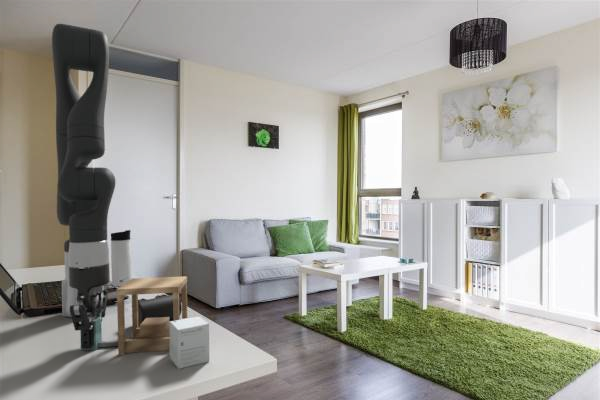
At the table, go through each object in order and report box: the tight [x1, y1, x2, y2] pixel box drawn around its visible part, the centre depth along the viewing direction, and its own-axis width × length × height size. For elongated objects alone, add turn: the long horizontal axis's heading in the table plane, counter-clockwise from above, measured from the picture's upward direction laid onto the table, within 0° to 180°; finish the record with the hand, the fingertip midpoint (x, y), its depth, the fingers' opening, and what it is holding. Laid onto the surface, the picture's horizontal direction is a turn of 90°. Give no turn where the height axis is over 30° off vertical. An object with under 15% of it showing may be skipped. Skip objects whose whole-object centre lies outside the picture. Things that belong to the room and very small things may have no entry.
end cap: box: [138, 293, 182, 328], centre depth 97 cm, size 10×7×7 cm
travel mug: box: [110, 229, 132, 288], centre depth 137 cm, size 6×7×20 cm
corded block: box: [79, 317, 170, 351], centre depth 83 cm, size 17×5×6 cm, turn 96°
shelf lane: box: [115, 275, 189, 356], centre depth 84 cm, size 12×10×13 cm
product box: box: [169, 316, 210, 370], centre depth 76 cm, size 6×6×7 cm
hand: (91, 344), depth 83 cm, fingers closed on corded block, 3 cm apart
